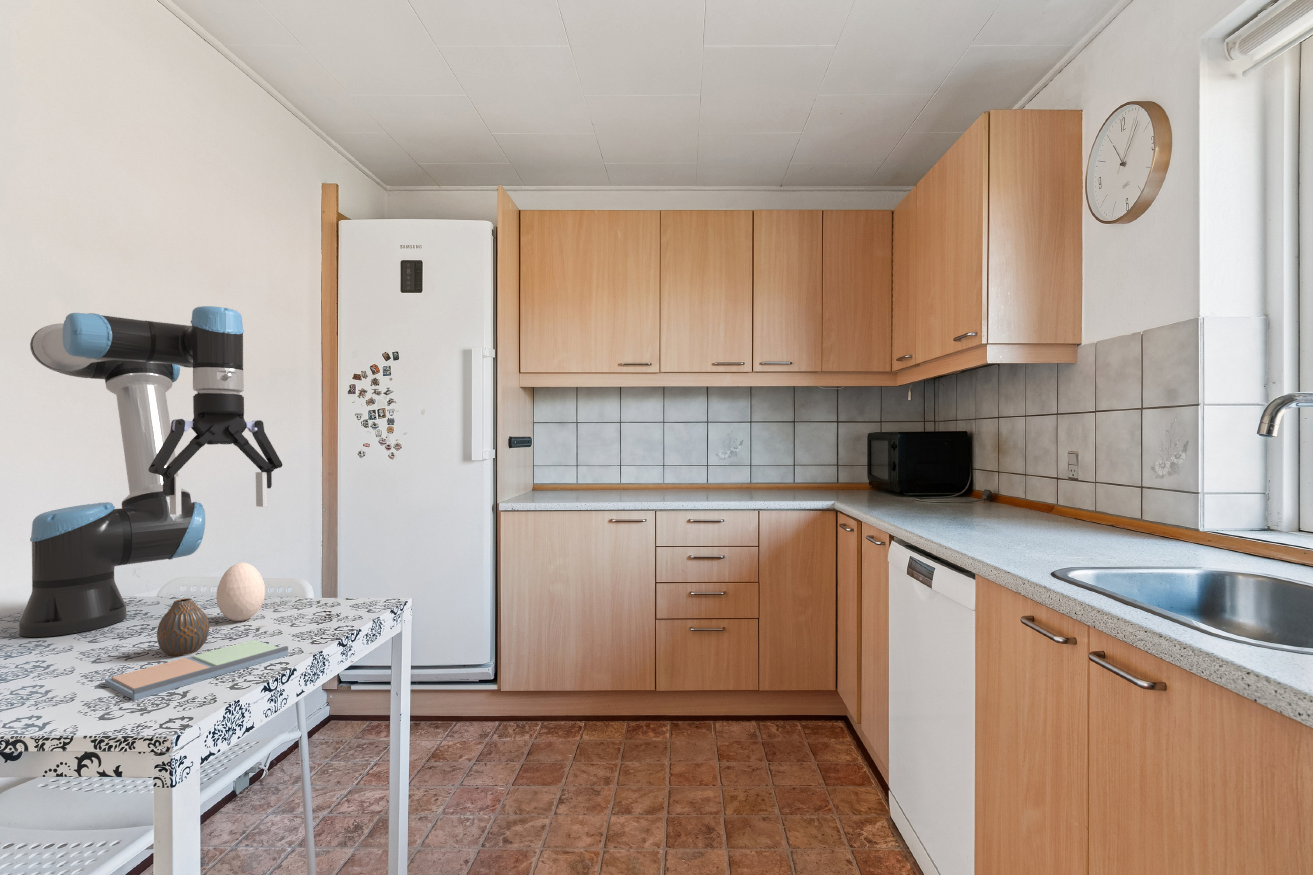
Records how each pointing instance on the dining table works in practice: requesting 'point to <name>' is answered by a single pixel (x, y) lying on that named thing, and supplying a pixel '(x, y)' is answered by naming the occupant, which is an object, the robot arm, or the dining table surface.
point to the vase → (182, 628)
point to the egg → (240, 592)
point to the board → (193, 669)
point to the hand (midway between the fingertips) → (220, 510)
